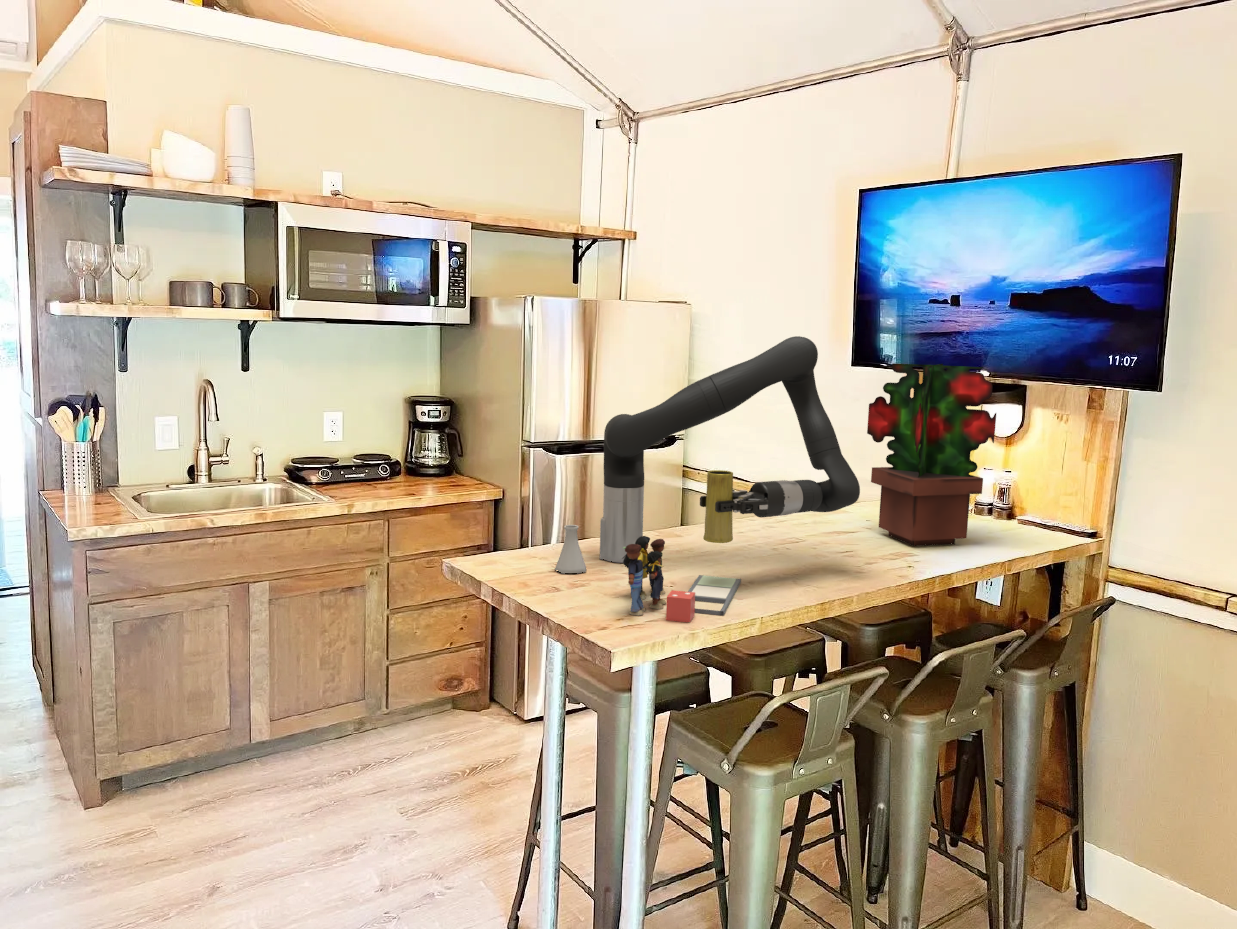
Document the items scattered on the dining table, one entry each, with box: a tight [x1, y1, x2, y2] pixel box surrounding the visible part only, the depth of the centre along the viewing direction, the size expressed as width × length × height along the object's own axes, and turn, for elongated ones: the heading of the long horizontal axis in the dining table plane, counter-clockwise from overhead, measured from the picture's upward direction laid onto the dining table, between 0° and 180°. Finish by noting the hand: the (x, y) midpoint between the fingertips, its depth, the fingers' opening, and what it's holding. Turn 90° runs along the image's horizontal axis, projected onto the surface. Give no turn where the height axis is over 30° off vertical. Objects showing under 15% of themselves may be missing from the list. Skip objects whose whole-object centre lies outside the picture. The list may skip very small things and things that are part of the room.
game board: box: [687, 574, 742, 617], centre depth 194 cm, size 9×24×1 cm, turn 165°
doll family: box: [622, 535, 667, 617], centre depth 188 cm, size 23×9×13 cm, turn 1°
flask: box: [554, 524, 587, 574], centre depth 210 cm, size 7×7×10 cm
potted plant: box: [866, 362, 997, 547], centre depth 245 cm, size 22×22×45 cm
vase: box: [703, 469, 734, 544], centre depth 199 cm, size 6×6×14 cm
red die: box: [665, 590, 696, 623], centre depth 179 cm, size 4×4×5 cm
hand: (708, 504), depth 198 cm, fingers closed on vase, 5 cm apart
